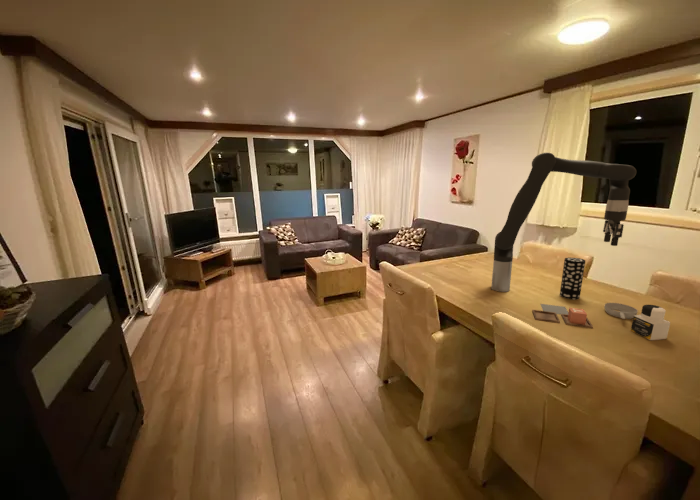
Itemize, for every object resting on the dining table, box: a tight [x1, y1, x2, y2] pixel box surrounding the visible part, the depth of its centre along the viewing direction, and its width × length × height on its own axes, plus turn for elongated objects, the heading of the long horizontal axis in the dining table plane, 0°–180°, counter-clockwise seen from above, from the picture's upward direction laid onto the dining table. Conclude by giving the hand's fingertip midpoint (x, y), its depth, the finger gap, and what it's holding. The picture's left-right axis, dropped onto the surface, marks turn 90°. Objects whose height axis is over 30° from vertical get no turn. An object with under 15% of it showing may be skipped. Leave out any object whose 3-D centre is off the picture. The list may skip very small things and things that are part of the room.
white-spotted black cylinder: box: [559, 257, 586, 301], centre depth 145 cm, size 8×8×20 cm
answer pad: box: [540, 303, 569, 315], centre depth 133 cm, size 10×10×1 cm
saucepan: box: [604, 302, 639, 320], centre depth 123 cm, size 11×18×4 cm, turn 141°
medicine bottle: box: [630, 304, 671, 341], centre depth 109 cm, size 7×7×12 cm
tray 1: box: [531, 309, 561, 324], centre depth 127 cm, size 9×9×1 cm
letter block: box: [568, 307, 588, 325], centre depth 121 cm, size 5×5×5 cm
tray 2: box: [560, 314, 594, 329], centre depth 121 cm, size 9×9×1 cm
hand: (610, 243), depth 135 cm, fingers open, 8 cm apart
